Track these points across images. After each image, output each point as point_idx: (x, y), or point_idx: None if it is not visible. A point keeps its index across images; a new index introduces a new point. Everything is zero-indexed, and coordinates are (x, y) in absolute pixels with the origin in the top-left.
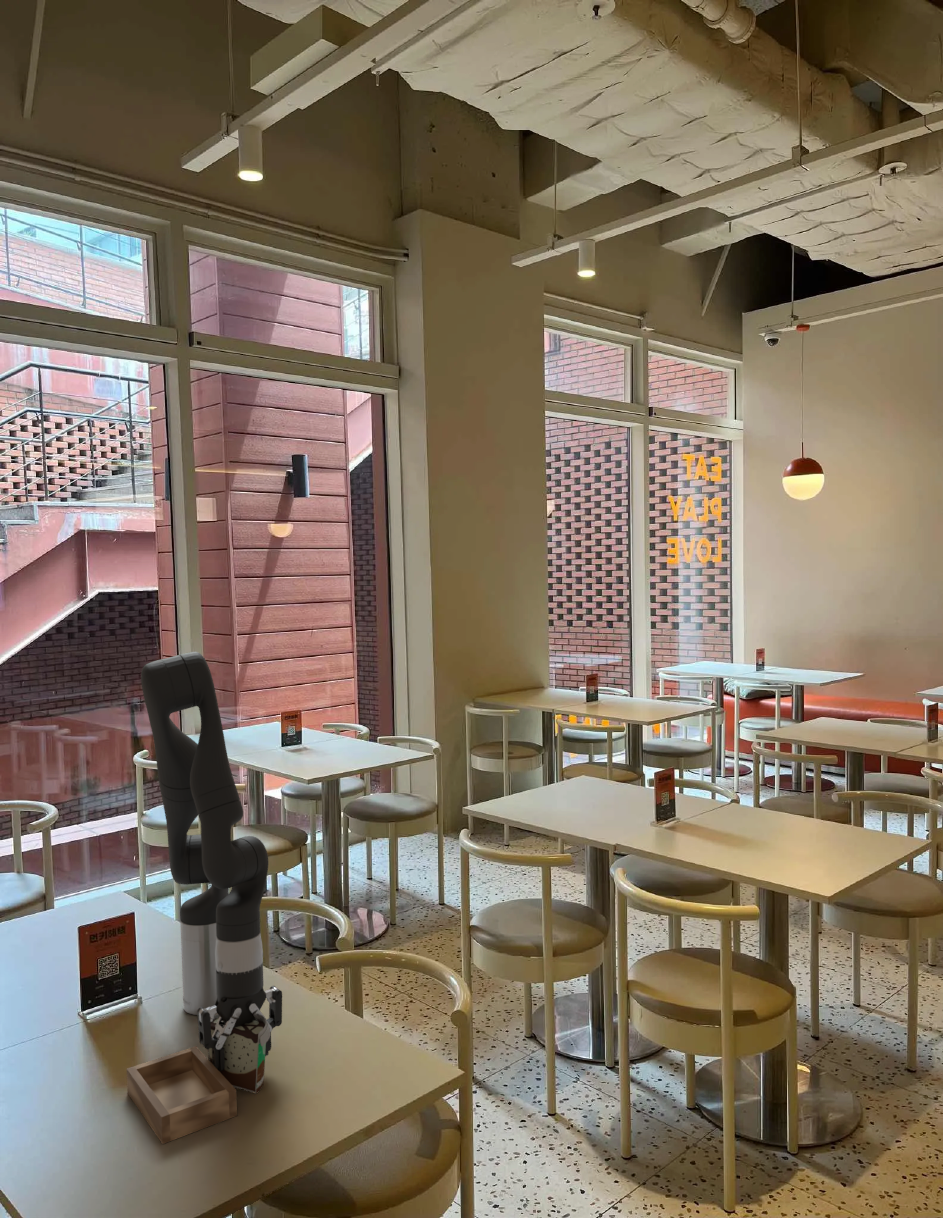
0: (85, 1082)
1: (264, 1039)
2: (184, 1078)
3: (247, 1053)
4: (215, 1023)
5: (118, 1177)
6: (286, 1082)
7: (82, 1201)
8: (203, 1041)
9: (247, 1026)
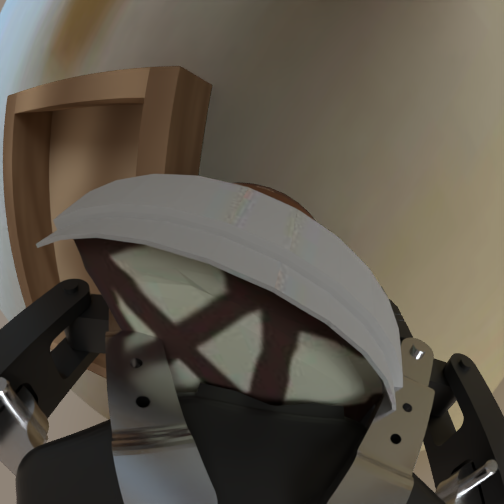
0: (42, 13)
1: None
2: (138, 139)
3: None
4: (124, 279)
5: None
6: None
7: (11, 318)
8: (59, 343)
9: None
